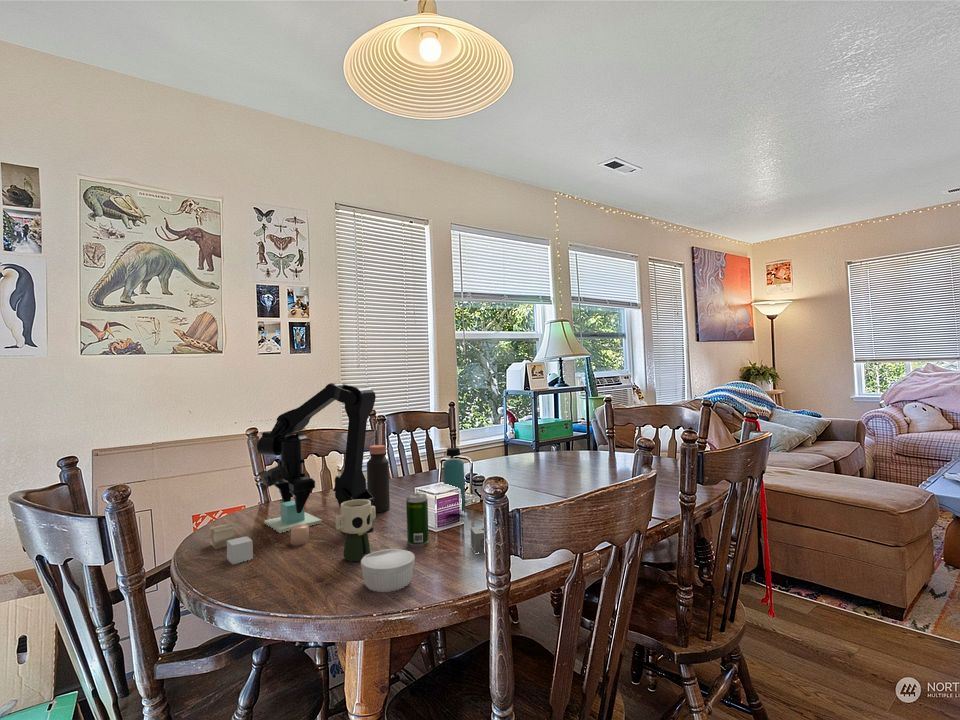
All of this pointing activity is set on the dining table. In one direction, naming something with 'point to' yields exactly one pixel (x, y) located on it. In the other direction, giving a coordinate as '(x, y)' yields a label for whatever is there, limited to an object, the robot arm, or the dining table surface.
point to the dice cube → (477, 539)
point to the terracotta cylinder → (299, 534)
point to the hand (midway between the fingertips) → (292, 509)
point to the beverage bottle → (455, 472)
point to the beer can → (417, 519)
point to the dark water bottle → (378, 478)
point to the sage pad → (284, 527)
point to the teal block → (291, 513)
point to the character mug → (356, 527)
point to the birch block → (221, 535)
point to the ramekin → (388, 569)
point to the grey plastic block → (239, 550)
